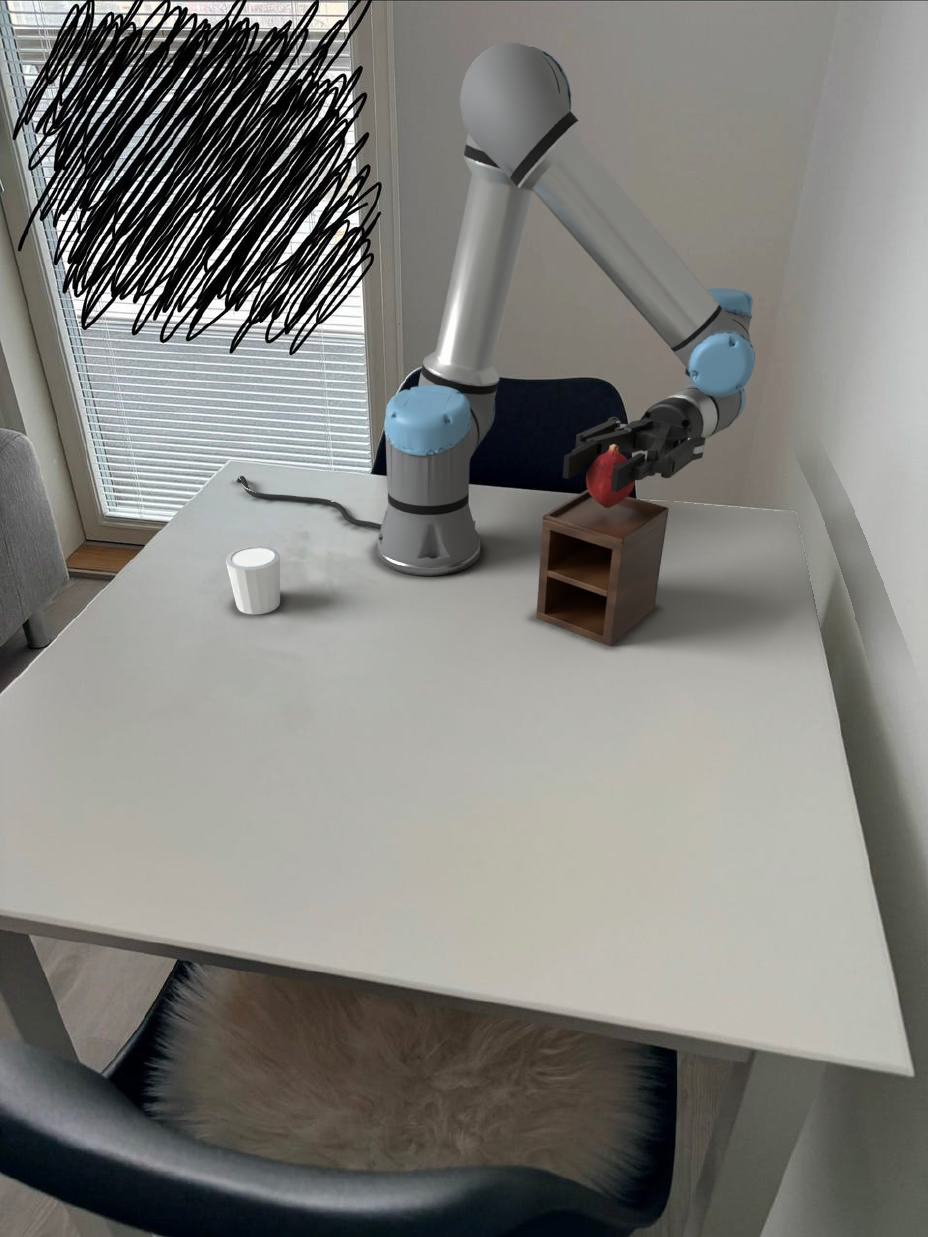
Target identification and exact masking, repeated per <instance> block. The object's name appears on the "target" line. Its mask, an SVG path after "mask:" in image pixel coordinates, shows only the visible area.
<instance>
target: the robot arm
mask: <svg viewBox="0 0 928 1237" xmlns="http://www.w3.org/2000/svg"><path fill="white" fill-rule="evenodd" d="M459 106H460V113H461V117H462V122H463V125H464V127H465V129H466V131H467V136H466V142H465V147H464V151H463V152H464V153H463V160H464V162H465V163H466V165H467V167H468V169H469V170H470V173H471V175H470V176H471V177H470V181H469V186H468V191H467V194H466V195H467V196H466V201H465V206H464V211H463V215H462V220H461V225H460V230H459V234H458V240H457V245H456V250H455V254H454V260H453V264H452V268H451V274H450V280H449V284H448V290H447V294H446V298H445V303H444V307H443V308H444V309H443V313H442V319H441V323H440V327H439V334H438V338H437V343H436V348H435V351H433V352H431V353H430V354H428V355H427V356H425V357H424V358H423V361H422V365H421V371H420V375H419V379H418V385H417V386H412V387H410V389H403V390H401V391H399V392H397V393H396V394H394V395H393V396H392V397H391V398H390V400H389V401H388V403H387V405H386V409H385V418H384V422H383V424H384V427H383V430H384V435H385V455H386V456H385V458H386V459H385V460H386V482H387V507H386V510H385V512H384V513H385V514H384V517H383V519H382V523H377V522H373V521H367V520H361V519H357V518H353V517H352V516H350V515H349V514H348V512H347V510H346V509H345V507H344V506H343V505H342V504H340V503H339V502H337V501H334V502H331V501H332V500H331V499H328V498H327V499H326V498H322V497H311V496H301V495H300V496H299V495H289V494H275V493H274V494H273V493H263V492H258V491H255V492H256V493H255V492H252V491H249V490H247V489H245V488H244V487H243V489H244V490H245V492H246V493H247V494H249V496H251V497H255V498H258V499H264V500H265V499H266V500H277V501H278V500H279V501H289V502H300V503H313V504H322V505H327V506H331V507H333V508H336V509H337V510H338V511H339V513H340V515H341V516H342V518H344V520H346V521H347V522H348V523H350V524H352V525H355V526H360V527H368V528H372V529H375V530H378V531H379V533H378V536H377V541H376V553H377V554H376V555H377V557H378V559H379V561H380V562H381V563H382V564H384V565H385V566H386V567H388V568H389V569H392V570H394V571H397V572H399V573H404V574H408V575H414V576H442V575H448V574H453V573H457V572H461V571H463V570H465V569H468V568H469V567H470V566H473V564H474V563H476V562H477V561H478V559H479V557H480V555H481V540H480V535H479V533H478V531H477V530H476V520H474V518H473V514H472V511H471V509H470V504H469V503H470V502H469V501H470V497H469V496H470V463H471V462H470V461H471V458H472V457H473V455H474V453H475V452H476V450H477V449H478V447H479V445H480V444H481V443H482V441H483V440H484V439H485V437H486V436H487V435H488V432H490V430H491V428H492V426H493V423H494V419H495V415H496V400H495V399H496V396H497V392H498V387H499V383H500V374H499V372H498V371H497V369H496V367H495V366H494V360H495V356H496V352H497V348H498V343H499V339H500V335H501V332H502V326H503V323H504V318H505V316H506V311H507V306H508V302H509V298H510V295H511V290H512V285H513V281H514V277H515V273H516V268H517V265H518V261H519V256H520V252H521V248H522V244H523V240H524V236H525V231H526V227H527V223H528V219H529V216H530V215H529V214H530V211H531V206H532V202H533V198H534V194H535V195H536V196H537V197H538V199H540V201H541V202H542V203H543V204H544V205H545V206H546V208H547V209H548V210H549V211H550V212H551V213H552V214H553V216H554V217H555V218H556V219H557V221H559V222H560V224H561V225H562V226H563V227H564V228H565V229H566V230H567V231H568V233H569V234H570V235H571V236H572V237H573V239H574V240H575V241H576V242H577V243H578V244H579V245H580V246H581V248H582V249H583V250H584V251H585V252H586V253H587V254H588V255H589V257H590V258H591V259H592V260H593V262H594V263H595V264H596V265H597V266H598V267H599V269H601V270H602V272H603V273H604V274H605V275H606V276H607V278H609V280H610V281H611V282H612V283H613V284H614V285H615V287H617V289H618V290H619V291H620V292H621V293H622V294H623V296H624V297H625V298H626V299H627V300H628V301H629V302H630V304H631V305H632V306H633V307H634V308H635V309H636V310H637V311H638V313H639V314H640V315H641V316H642V317H643V318H644V319H645V321H646V322H647V323H648V324H649V325H650V326H651V328H652V329H653V330H654V331H655V332H656V333H657V335H659V337H660V338H661V339H662V340H663V341H664V342H665V344H666V345H667V346H668V347H669V349H671V351H672V353H673V354H674V355H675V356H676V357H677V358H678V360H679V361H680V363H682V364H683V365H684V367H685V370H684V377H683V378H684V379H683V386H682V387H683V388H682V389H681V390H680V391H678V392H675V393H674V394H671V395H669V396H667V397H665V399H663V400H661V401H658V402H656V403H655V404H652V405H651V406H649V408H647V409H646V411H645V412H644V414H643V415H642V416H641V418H640V419H638V420H632V421H630V422H629V423H628V424H625V423H622V422H621V420H619V417H617V416H611V417H609V418H608V419H607V421H605V422H603V423H600V424H598V425H596V426H594V427H591V428H589V429H587V430H583V431H582V432H580V433H578V434H576V438H575V446H574V447H575V448H574V449H572V451H570V452H569V453H567V454H565V455H564V456H563V466H562V467H563V469H562V478H563V479H565V480H569V479H571V478H573V477H574V476H575V477H576V476H577V475H578V474H580V473H582V472H584V471H585V470H588V469H589V467H590V465H591V464H592V463H593V462H594V461H595V460H596V458H598V457H599V456H600V455H602V454H604V453H606V452H607V451H608V450H609V447H610V446H611V445H613V444H615V445H617V446H618V447H619V448H618V452H619V453H620V454H622V453H624V452H625V453H628V454H633V453H637V454H635V455H634V456H632V457H630V458H627V459H628V460H627V461H625V462H623V463H621V464H620V465H618V466H616V467H615V468H613V473H612V483H611V491H614V492H618V491H619V490H621V489H623V488H624V487H626V486H627V485H629V484H631V483H632V482H634V481H635V482H636V481H642V480H644V479H646V478H647V477H653V476H656V474H660V477H661V478H663V479H670V478H672V477H673V476H674V475H676V474H677V473H678V472H680V471H681V470H682V469H683V468H685V467H686V466H687V465H689V464H690V463H692V462H693V461H696V460H697V461H698V460H699V459H703V456H704V452H705V451H704V450H705V444H706V440H707V439H709V438H711V437H712V436H714V435H715V434H718V433H720V432H721V431H724V430H725V429H727V428H729V427H730V426H731V425H732V424H733V423H734V421H736V420H737V419H738V418H739V417H740V416H741V414H742V413H743V411H744V409H745V406H746V402H747V395H746V391H745V388H744V387H745V386H746V385H747V384H748V382H749V381H750V380H751V377H752V375H753V372H754V367H755V362H756V351H755V349H754V346H753V344H752V341H751V337H750V333H749V331H750V326H751V321H752V318H753V314H752V313H753V305H754V304H753V302H754V299H753V296H752V295H751V293H749V292H747V291H744V290H740V289H735V288H734V289H733V288H723V287H721V288H720V287H717V288H715V287H713V288H706V287H705V285H704V284H703V283H702V281H701V280H700V279H699V278H698V277H697V275H696V274H694V272H693V271H692V269H691V268H689V266H688V265H687V264H686V262H685V260H683V259H682V258H681V256H680V255H679V253H678V252H676V251H675V250H674V248H673V247H672V246H671V244H670V243H669V242H668V241H667V240H666V238H665V237H664V236H663V235H662V233H661V232H660V231H659V230H658V229H657V228H656V226H654V224H653V223H652V221H650V219H649V218H648V217H647V216H646V215H645V213H644V212H643V211H642V210H641V209H640V208H639V206H638V205H637V204H636V203H635V201H634V200H633V199H632V197H631V196H629V194H628V193H627V192H626V191H625V190H624V188H623V187H622V186H621V184H619V183H618V181H617V180H616V179H615V178H614V176H613V175H612V174H611V172H609V170H608V169H607V168H606V167H605V166H604V165H603V163H602V162H601V161H600V159H599V158H598V157H597V156H596V155H595V154H594V153H593V151H592V150H591V149H590V148H589V146H588V145H587V144H586V143H585V142H584V140H582V138H581V121H580V120H579V119H578V118H577V116H576V115H574V113H573V112H572V92H571V86H570V83H569V79H568V76H567V74H566V72H565V71H564V69H563V67H562V65H561V64H560V63H559V62H558V60H556V58H554V56H553V55H551V54H550V53H548V52H547V51H544V50H541V49H539V48H537V47H536V46H529V45H526V44H523V43H520V42H501V43H497V44H495V45H492V46H490V47H488V48H487V49H485V50H484V51H482V52H481V53H480V54H479V55H477V57H476V58H475V59H474V60H473V61H472V63H470V66H469V67H468V69H467V71H466V73H465V76H464V78H463V81H462V84H461V89H460V96H459ZM641 451H642V452H646V454H647V455H646V454H645V453H642V452H641ZM638 452H639V453H638ZM239 477H240V479H241V480H240V479H239ZM236 483H241V485H242V484H243V485H244V486H245V487H246V488H248V489H249V488H250V486H249V484H248V482H247V479H246V477H245V476H243V475H240V476H238V478H237V479H236ZM243 485H242V486H243ZM248 486H249V487H248ZM257 492H258V493H257Z"/></svg>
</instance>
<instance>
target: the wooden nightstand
mask: <svg viewBox="0 0 928 1237" xmlns="http://www.w3.org/2000/svg"><path fill="white" fill-rule="evenodd" d="M669 509H670V507H667V506H663V505H660V504H656V503H653V502H648V501H646V500H642V499H638V498H635V497H631V496H629V495H628V496H627V497H626V498H625V499H624V500H623V501H621V502H619V503H618V504H616V505H614V506H612V507H610V508H605V507H603V506H602V505H601V504H599V503H598V502H597V501H596V500H595V499H594V498H593V497H592V496H591V495H590V493H589V491H588V489H586V490H584V491H583V492H581V493H579V494H577V495H576V496H574V497H572V498H571V499H569V500H567V501H565V502H564V503H562V504H560V505H559V506H557V507H555V508H554V509H552V510H550V511H549V512H547V513H545V514H543V515H542V525H541V540H540V555H539V556H540V558H539V569H538V571H539V572H538V587H537V599H536V600H537V602H536V614H535V615H536V617H535V618H536V619H537V620H540V621H543V622H545V623H548V624H550V625H554V626H556V627H559V628H561V629H564V630H566V631H569V632H571V633H574V634H577V635H579V636H582V637H585V638H588V639H590V640H593V641H595V642H598V643H601V644H603V645H606V646H609V647H612V645H614V644H615V643H616V642H617V641H618V640H619V639H621V638H622V637H623V636H624V635H625V634H627V633H628V632H629V631H630V630H631V629H632V628H633V627H634V626H636V625H637V624H638V623H639V622H641V621H642V620H643V619H644V618H645V617H647V615H649V614H650V613H651V612H652V611H653V610H655V605H656V600H657V599H656V598H657V594H658V593H657V592H658V585H659V579H660V578H659V577H660V571H661V565H662V558H663V551H664V550H663V549H664V544H665V536H666V530H667V523H668V517H669V516H668V515H669V511H670V510H669Z"/></svg>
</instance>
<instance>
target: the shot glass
mask: <svg viewBox="0 0 928 1237" xmlns="http://www.w3.org/2000/svg"><path fill="white" fill-rule="evenodd" d="M225 564H226V568H227V572H228V576H229V580H230V584H231V589H232V593H233V597H234V601H235V605H236V608H237V610H238V611H239V612H241V613H243V614H247V615H252V616H253V615H263V614H268V613H270V612H273V611H274V610H276V609H277V608H278V607H279V606H280V603H281V554H280V553H279V552H278V550H277V549H274V548H272V547H271V546H270V547H268V546H262V545H254V546H246V547H240V548H238V549H236V550H233V551H232V552H230V553H229V554H227V555H226V559H225Z"/></svg>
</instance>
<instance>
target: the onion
mask: <svg viewBox="0 0 928 1237" xmlns="http://www.w3.org/2000/svg"><path fill="white" fill-rule="evenodd" d="M618 448H619V447H618V446H617V445H615V444H613V445H611V446H610V447H609V450H608V451H607V452H606V453H604V454H602V455H600V456H599V457H598V458H596V460H595V461H594V462H593V463H592V464H591V465H590V467H589V468H587V472H586V477H585V482H586V488H587V489H586V490H588V491H589V493H590V495H591V496H592V497H593V498H594V499H595V500H596V501H597V502H598V503H599V504H601V505H602V506H603V507H605V508H610V507H612V506H614V505H616V504H618V503H619V502H621V501H623V500H624V499H625V498H626V497H627V496H628V497H629V495H630V494H631V493H632V491H633V489H634V486H635V483H636V480H635V481H634V482H632V483H631V484H629V485H627V486H626V487H624V488H623V489H621V490H619V491H618V492H614V491H611V483H612V473H613V468H615V467H616V466H618V465H620V464H621V463H623V462H625V461H627V460H628V459H629V458H627V457H626V456H625V455H623V454H622V453H619V452H618Z"/></svg>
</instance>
